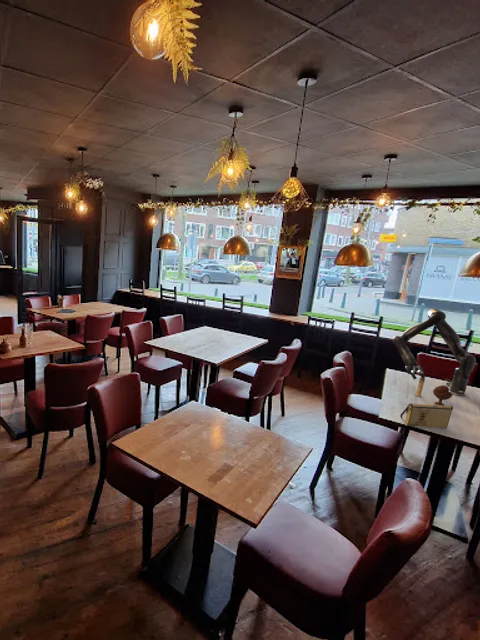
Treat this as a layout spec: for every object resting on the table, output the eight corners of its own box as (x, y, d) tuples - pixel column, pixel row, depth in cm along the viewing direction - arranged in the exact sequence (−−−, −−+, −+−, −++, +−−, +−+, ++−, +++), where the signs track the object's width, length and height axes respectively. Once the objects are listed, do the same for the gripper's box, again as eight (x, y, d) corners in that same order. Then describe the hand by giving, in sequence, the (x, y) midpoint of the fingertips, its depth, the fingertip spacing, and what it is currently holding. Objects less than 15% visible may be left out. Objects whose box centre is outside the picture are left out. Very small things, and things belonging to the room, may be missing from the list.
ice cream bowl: (453, 408, 241) (458, 388, 238) (437, 407, 241) (442, 387, 238) (441, 401, 251) (446, 382, 248) (426, 400, 252) (431, 381, 248)
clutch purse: (440, 423, 217) (446, 401, 214) (449, 429, 210) (456, 406, 207) (395, 421, 215) (400, 399, 212) (403, 426, 209) (409, 404, 205)
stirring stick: (416, 394, 261) (420, 377, 258) (421, 396, 259) (425, 379, 256) (414, 395, 259) (419, 378, 256) (419, 397, 257) (424, 380, 254)
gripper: (405, 357, 261) (416, 377, 253) (419, 357, 265) (431, 376, 257) (398, 361, 267) (408, 381, 259) (411, 361, 271) (422, 380, 263)
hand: (419, 378), depth 258 cm, fingers open, 8 cm apart
